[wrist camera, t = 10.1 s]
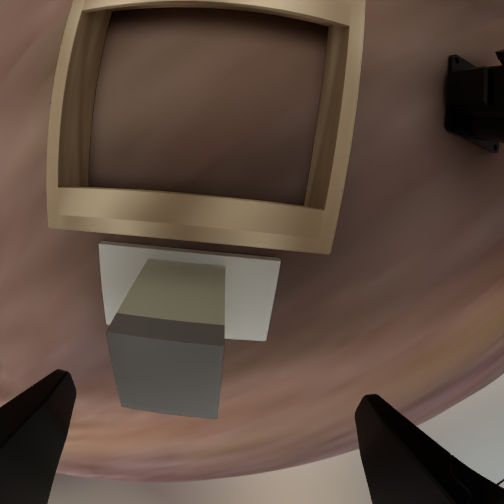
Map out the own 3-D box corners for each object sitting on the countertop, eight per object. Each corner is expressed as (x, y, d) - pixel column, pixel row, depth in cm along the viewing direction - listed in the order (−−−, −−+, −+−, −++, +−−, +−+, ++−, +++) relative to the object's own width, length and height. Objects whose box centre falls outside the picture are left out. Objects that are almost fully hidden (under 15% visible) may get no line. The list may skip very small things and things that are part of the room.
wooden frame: (341, 20, 14) (365, -2, 11) (311, 231, 19) (330, 254, 16) (103, 3, 12) (80, -19, 9) (78, 210, 18) (48, 228, 14)
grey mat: (279, 257, 20) (280, 261, 19) (264, 336, 22) (265, 340, 22) (101, 240, 19) (98, 243, 18) (108, 319, 21) (106, 324, 20)
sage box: (225, 265, 19) (224, 346, 12) (219, 329, 21) (217, 418, 13) (148, 258, 19) (106, 331, 11) (150, 322, 20) (121, 406, 13)
